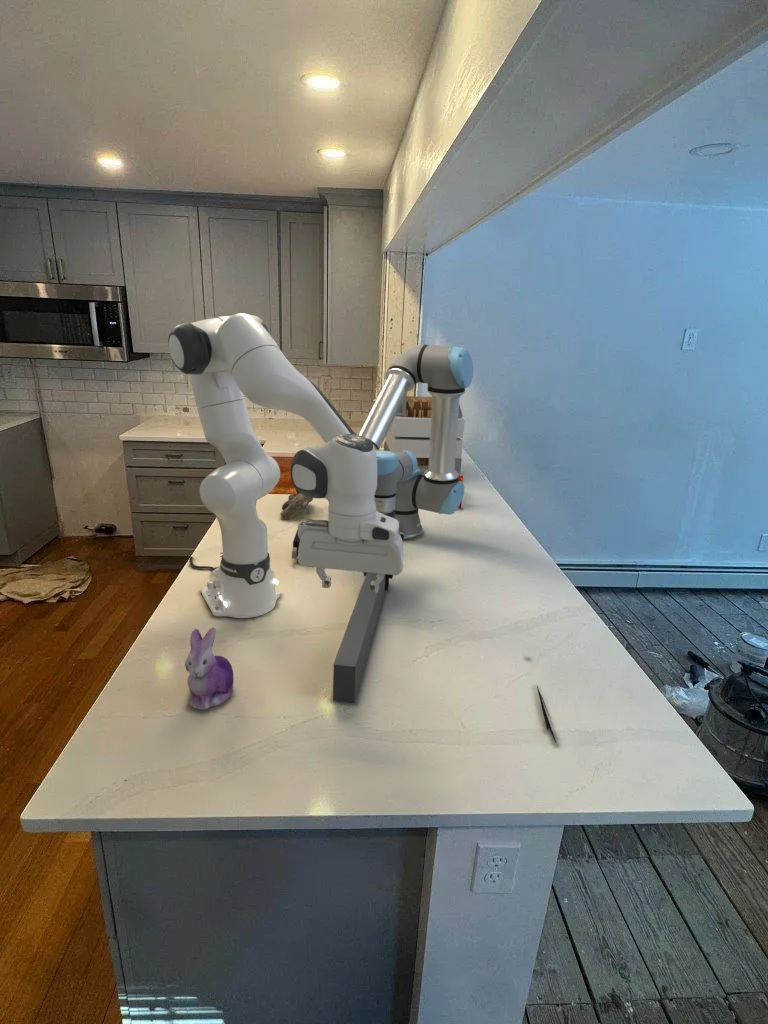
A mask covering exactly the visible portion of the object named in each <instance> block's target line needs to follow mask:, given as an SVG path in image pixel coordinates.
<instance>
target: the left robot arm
mask: <svg viewBox="0 0 768 1024" xmlns="http://www.w3.org/2000/svg"><path fill="white" fill-rule="evenodd" d="M167 338H168V340H167V345H168V351H169V354H170V355H169V356H170V358H171V360H172V362H173V364H174V366H175V367H176V368H177V369H178V370H179V371H180V372H182V374H185V375H190V376H191V378H190V379H191V386H192V393H193V399H194V402H195V406H196V411H197V413H198V416H199V420H200V424H201V428H202V431H203V434H204V438H205V440H206V441H207V443H208V444H209V445H211V446H213V447H215V448H216V449H217V450H218V452H219V453H220V454H221V456H222V458H223V460H224V462H225V464H224V465H222V466H219V467H217V468H215V469H214V470H212V471H211V472H210V473H209V474H208V475H207V476H206V477H205V478H203V480H202V481H201V483H200V485H199V497H200V500H201V503H202V504H203V506H204V507H205V508H206V509H207V510H208V511H209V512H211V513H212V514H213V515H214V516H215V517H216V519H217V523H218V524H219V525H218V526H219V528H220V535H221V544H222V552H220V553H219V554H220V556H219V558H221V559H220V563H219V564H220V565H219V566H216V567H213V566H207V565H205V566H204V565H195V564H194V563H193V562H194V561H193V560H194V559H193V558H194V557H193V556H190V557H189V564H190V566H191V567H192V568H194V569H199V570H200V569H202V570H205V569H206V570H212V571H211V573H210V574H209V581H207V583H206V585H205V586H203V587H202V588H201V595H202V596H203V599H204V600H205V602H206V604H207V606H208V608H209V610H210V612H211V613H212V615H213V616H214V617H230V618H236V619H250V618H256V617H260V616H263V615H265V614H267V613H270V612H271V611H272V610H274V608H275V606H276V604H277V600H278V599H279V598H280V596H281V593H280V591H279V590H277V588H276V585H279V580H278V579H276V578H275V571H274V569H273V568H272V567H271V556H270V553H269V552H268V551H269V550H268V549H269V548H268V546H269V545H268V527H267V525H266V523H265V522H264V521H263V520H262V519H260V518H259V515H258V511H257V502H258V500H260V499H262V498H263V497H265V496H267V495H269V494H270V493H271V492H272V491H273V490H274V489H275V487H276V486H277V484H278V483H279V481H280V478H281V468H280V466H279V464H278V462H277V461H276V459H274V458H273V456H271V455H270V454H268V453H267V452H266V450H265V449H264V447H263V446H262V443H261V442H260V441H259V439H258V437H257V435H256V432H255V430H254V427H253V424H252V421H251V417H250V414H249V410H248V406H247V402H246V399H245V397H246V398H247V400H248V401H250V402H251V403H253V404H254V405H256V406H259V407H262V408H266V409H272V410H273V409H274V410H278V411H279V410H280V411H283V412H288V413H291V414H294V415H297V416H299V417H301V418H303V419H304V420H305V421H307V422H308V423H309V424H310V425H311V426H312V428H313V429H314V430H315V432H316V433H317V434H318V435H319V436H320V438H321V439H322V440H323V442H324V443H322V444H318V445H314V446H309V447H305V448H303V449H300V450H298V451H297V452H296V453H295V454H294V455H293V457H292V459H291V462H290V468H289V471H290V473H289V474H290V479H291V483H292V485H293V487H294V488H295V491H296V490H297V491H298V492H299V493H301V494H302V495H304V496H306V497H309V498H313V499H317V500H318V499H325V500H327V502H328V508H327V509H328V511H327V513H328V514H327V519H325V520H324V519H312V518H306V519H304V520H302V521H300V522H299V523H298V525H297V529H298V537H299V539H300V543H299V549H298V557H297V558H298V562H299V563H298V564H300V566H302V567H308V568H315V572H316V574H317V576H318V577H319V579H320V580H321V588H322V589H330V587H332V577H331V576H328V575H327V574H326V571H325V570H326V569H327V570H337V571H347V572H349V571H350V572H359V573H364V572H368V573H376V577H377V580H376V581H371V584H370V592H371V593H378V589H379V584H380V583H381V581H382V580H383V579H384V575H385V574H389V575H393V576H399V575H400V574H401V573H402V572H403V570H404V566H405V563H404V562H405V550H404V542H403V541H404V540H402V538H401V536H400V535H399V534H398V532H399V521H398V520H397V519H394V518H392V517H389V516H387V515H384V514H382V513H380V512H377V511H376V504H375V499H374V496H375V491H376V488H377V456H376V451H375V447H374V445H373V443H372V442H371V441H370V440H368V439H367V438H365V437H363V436H360V435H358V433H357V432H355V431H354V429H352V428H351V426H350V424H348V423H347V422H346V420H345V419H344V418H343V417H342V415H341V414H340V413H339V411H338V410H337V409H336V408H335V406H334V405H333V403H331V401H330V400H329V399H328V397H327V396H326V395H325V394H324V393H323V391H322V390H321V389H320V388H319V387H318V386H317V384H315V383H314V382H312V381H311V380H310V379H309V378H308V377H306V376H304V375H303V374H302V373H301V372H300V371H299V370H298V369H297V368H296V367H295V366H294V365H293V364H292V363H291V362H290V361H289V360H288V359H287V357H286V356H285V355H284V353H283V352H282V350H281V349H280V346H279V345H278V343H277V342H276V340H275V339H274V338H273V337H272V335H271V333H270V330H269V328H268V326H267V324H266V323H265V322H264V321H263V319H262V318H261V317H259V316H258V315H253V314H249V313H248V314H247V313H241V312H240V313H234V314H232V315H221V316H220V315H219V316H214V317H212V318H206V319H201V320H197V321H193V322H183V323H181V324H178V325H176V326H174V327H172V328H171V330H170V332H169V335H168V337H167Z"/></svg>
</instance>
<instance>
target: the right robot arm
mask: <svg viewBox="0 0 768 1024" xmlns="http://www.w3.org/2000/svg"><path fill="white" fill-rule="evenodd" d="M473 377H474V363H473V359H472V355H471V353H470V352H469V350H468V349H466V348H465V347H460V346H455V345H436V344H426V343H425V344H424V343H421V344H420V343H419V344H416V345H413V346H411V347H409V348H407V349H406V350H404V351H403V352H402V353H400V354H399V355H398V356H397V357H396V358H395V359H394V360H393V361H392V363H391V364H390V365H389V367H388V369H387V371H386V372H385V381H384V383H383V385H382V387H381V389H380V390H379V393H378V395H377V397H376V399H375V400H374V402H373V405H372V406H371V408H370V411H369V412H368V414H367V415H366V418H365V420H364V422H363V423H362V426H361V427H360V430H359V432H358V433H357V435H360V436H363V437H365V438H367V439H368V440H370V441H371V442H372V443H373V445H374V447H375V451H376V456H377V488H376V491H375V496H374V499H375V504H376V511H377V512H380V513H382V514H384V515H387V516H389V517H392V518H394V519H397V520H398V521H399V532H398V534H399V535H400V536H401V538H402V541H410V540H415V539H418V538H420V537H421V536H422V535H423V525H422V523H421V518H420V515H419V510H421V511H422V510H423V511H427V512H432V513H437V514H439V515H442V514H444V515H453V514H454V513H456V512H457V510H458V509H459V508H458V507H459V505H460V503H461V500H462V501H463V497H464V493H465V483H464V481H463V482H461V481H459V474H458V473H457V471H456V470H455V457H456V442H457V427H458V413H459V405H460V398H461V397H462V395H464V394H465V393H466V388H469V387H470V386H471V384H472V382H473ZM416 384H427V392H428V393H429V395H431V397H432V409H431V429H430V449H429V465H428V468H427V469H426V470H424V472H423V474H422V470H421V468H419V466H418V462H417V459H416V457H415V455H414V454H413V453H412V452H410V451H407V450H404V451H398V452H391V451H385V450H384V449H381V446H382V444H383V443H384V441H385V438H386V434H387V432H388V430H389V428H390V426H391V424H392V422H393V420H394V418H395V416H396V414H397V412H398V410H399V408H400V406H401V404H402V402H403V400H404V398H405V396H406V394H408V393H409V392H411V391H412V390H413V389H414V387H415V385H416ZM366 574H367V572H363V574H362V575H363V577H365V576H366ZM393 578H394V575H389V574H386V580H385V591H389V587H390V580H392V579H393Z"/></svg>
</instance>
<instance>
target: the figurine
mask: <svg viewBox="0 0 768 1024" xmlns="http://www.w3.org/2000/svg"><path fill="white" fill-rule="evenodd" d="M216 634H217V629H216V628H215V627H214V626H212V627H211V628H210V629H208V631H207V632H206V634H205V635H204V636H203V637H202V635H201V631H200V630H199V629H198V628H194V629H193V630H191V634H190V638H189V639H190V640H189V641H190V643H189V646H190V650H189V652H188V655H187V656H186V658H185V662H184V668H185V669H186V671H187V672H188V673H189V675H188V677H187V686H188V688H189V692H190V702H189V706H190V707H191V708H194V709H197V710H202V711H203V710H208V709H209V708H211V707H217V706H220V705H221V704H222V703H225V701H227V700H228V699H229V698H230V697H232V694H233V691H234V670H233V666H232V664H231V662H230V661H229V660H228V658H226V657H225V656H222V655H215V654H214V651H213V650H212V648H213V645H214V642H215V639H216Z"/></svg>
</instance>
